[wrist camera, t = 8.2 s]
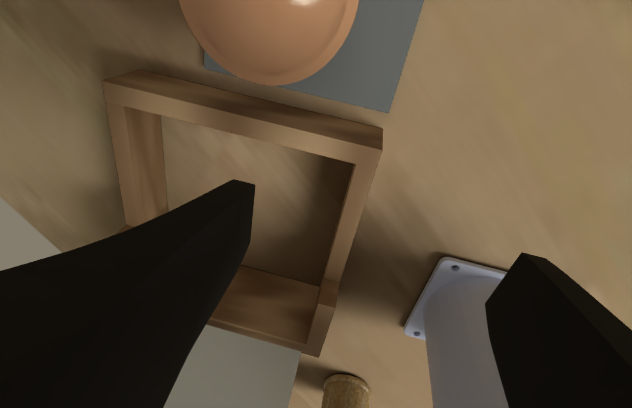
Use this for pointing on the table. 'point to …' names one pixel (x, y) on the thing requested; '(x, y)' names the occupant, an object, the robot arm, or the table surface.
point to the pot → (270, 35)
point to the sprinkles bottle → (345, 392)
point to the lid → (234, 373)
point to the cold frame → (259, 123)
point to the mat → (363, 57)
